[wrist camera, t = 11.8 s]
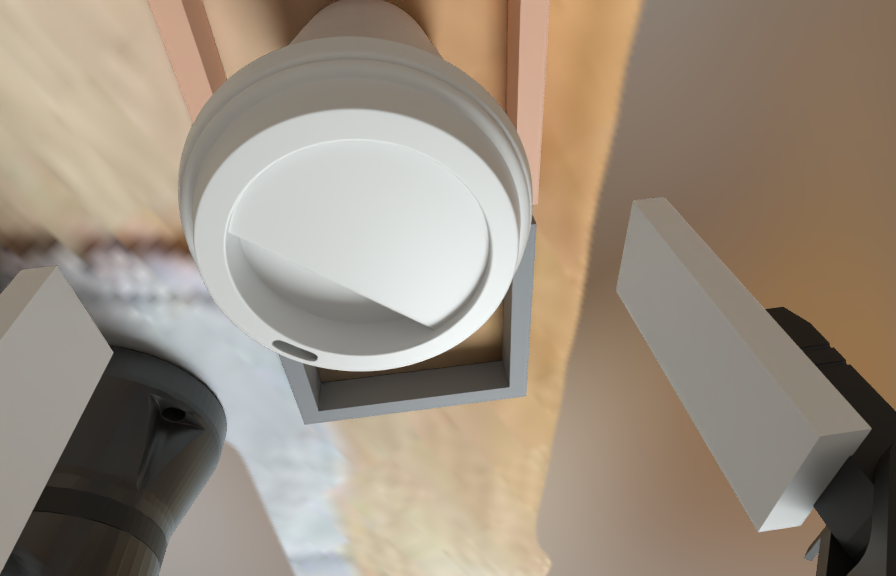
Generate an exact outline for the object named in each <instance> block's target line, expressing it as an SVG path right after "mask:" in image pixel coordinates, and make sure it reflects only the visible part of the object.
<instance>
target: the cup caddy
mask: <svg viewBox="0 0 896 576" xmlns="http://www.w3.org/2000/svg"><path fill="white" fill-rule="evenodd" d="M148 2H149V5H150V8H151V10H152V13H153V16H154V19H155V21H156V24H157V27H158V29H159V32H160V35H161V38H162V40H163V43H164V46H165V48H166V51H167V54H168V56H169V59H170V62H171V65H172V67H173V70H174V73H175V75H176V78H177V81H178V83H179V86H180V89H181V92H182V94H183V97H184V100H185V102H186V105H187V108H188V110H189V113H190V116H191V119H192V121H193V123H194V121H195V119H196V117H197V116H198V114H199V112H200V111H201V109H202V108H203V106H204V105H205V103H206V102H207V101H208V100H209V98H210V97H211V96H212V95H213V94H214V92H215V91H216V90H217V89H218V88H219V87H220V86H221V85H222V84H223V83H224V82H225V81H227V79H226V76H225V73H224V70H223V66H222V63H221V60H220V57H219V54H218V50H217V47H216V44H215V41H214V38H213V34H212V31H211V28H210V25H209V22H208V18H207V15H206V12H205V9H204V6H203V2H202V0H148ZM549 7H550V0H508V29H507V95H506V114H507V116H508V117H509V119H510V120H511V122H512V124H513V125H514V127H515V129H516V131H517V133H518V135H519V137H520V139H521V141H522V144H523V146H524V149H525V152H526V155H527V158H528V162H529V166H530V171H531V177H532V188H533V205H536V204H538V190H539V174H540V157H541V140H542V123H543V107H544V90H545V73H546V57H547V40H548V23H549ZM535 240H536V222H535V220H534V218H533V215H532V221H531V228H530V233H529V237H528V241H527V244H526V247H525V251H524V254H523V257H522V259H521V262H520V264H519V266H518V268H517V270H516V272H515V274H514V276H513V279H512V282H511V284H510V287H509V289H508V291H507V293H506V295H505V297H504V298H503V361H495V362H487V363H479V364H471V365H463V366H455V367H447V368H438V369H430V370H422V371H414V372H406V373H398V374H390V375H382V376H374V377H366V378H358V379H350V380H341V381H333V382H325V383H321V380H320V377H319V374H318V371H317V368H316V366H312V365H308V364H305V363H301V362H298V361H295V360H293V359H290V358H287V357H285V356H282V355H280V354H279V357H280V359H281V362H282V365H283V367H284V370H285V373H286V375H287V378H288V381H289V384H290V386H291V389H292V392H293V394H294V397H295V400H296V402H297V405H298V408H299V411H300V413H301V416H302V419H303V421H304V424H305V425H306V424H313V423H321V422H329V421H337V420H345V419H353V418H360V417H368V416H376V415H384V414H392V413H400V412H407V411H415V410H423V409H431V408H439V407H446V406H454V405H462V404H470V403H478V402H486V401H493V400H501V399H509V398H517V397H525V396H526V391H527V374H528V357H529V341H530V324H531V307H532V290H533V274H534V257H535Z"/></svg>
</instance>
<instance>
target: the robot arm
mask: <svg viewBox="0 0 896 576" xmlns="http://www.w3.org/2000/svg"><path fill="white" fill-rule="evenodd" d="M616 291H617V293H618V295H619V296H620V298H621V300H622V301H623V303H624V305H625V307H626V308H627V310H628V312H629V314H630V315H631V317H632V319H633V320H634V322H635V324H636V325H637V327H638V329H639V331H640V332H641V334H642V336H643V337H644V339H645V341H646V343H647V344H648V346H649V348H650V349H651V351H652V353H653V354H654V356H655V358H656V360H657V361H658V363H659V365H660V366H661V368H662V370H663V371H664V373H665V375H666V377H667V378H668V380H669V382H670V383H671V385H672V387H673V388H674V390H675V392H676V394H677V395H678V397H679V398H680V400H681V402H682V404H683V405H684V407H685V409H686V411H687V412H688V414H689V416H690V417H691V419H692V421H693V422H694V424H695V426H696V428H697V429H698V431H699V432H700V434H701V436H702V438H703V439H704V441H705V443H706V445H707V446H708V448H709V450H710V451H711V453H712V455H713V456H714V458H715V460H716V462H717V463H718V465H719V467H720V468H721V470H722V472H723V474H724V475H725V477H726V479H727V480H728V482H729V484H730V485H731V487H732V489H733V491H734V492H735V494H736V496H737V497H738V499H739V501H740V503H741V504H742V506H743V507H744V509H745V511H746V513H747V514H748V516H749V518H750V520H751V521H752V523H753V525H754V526H755V528H756V530H757V531H758V532H762V531H769V530H776V529H782V528H789V527H795V526H800V525H801V524H802V523H803V521H804V520H805V518H806V517H807V516H808V515H809V513H810V512H811V510H812V509H813V508H815V509H816V511H817V512H818V514H819V515H820V516H821V518H822V519H823V521H824V522H825V524H826V527H825V528H824V529H823V531H822V532H821V533H820V534H819V535H818V537H817V538H816V539H815V540H814V542H813V543H812V544H811V545H810V547H809V548H808V550H807V553H806V555H805V557H804V558H805V559H807V560H809V561H812V560H813V559H814V557H815V556H816V555H817V554H818V553H819V555H818V564H817V571H816V576H896V411H895V410H894V409H893V408H892V407H891V406H890V405H889V404H888V403H887V402H886V401H885V400H884V399H883V398H882V397H881V396H880V395H879V394H878V393H877V392H876V391H875V390H874V389H873V388H872V387H871V385H870V384H869V383H868V382H867V381H866V380H865V379H864V378H863V377H862V376H861V375H860V374H859V373H858V372H857V371H856V370H855V369H854V368H853V367H852V366H851V365H847V364H846V360H845V359H844V358H843V357H842V355H841V354H840V353H839V352H838V351H836V349H835V348H831V347H830V344H829V342H828V341H827V340H826V339H825V338H824V337H823V336H822V335H821V334H820V333H819V332H818V331H817V330H816V329H815V328H814V327H813V326H812V324H810V323H809V322H807V321H806V320H804V319H803V318H801V317H799V316H797V315H796V314H794V313H793V312H791V311H789V310H788V309H786V308H784V307H778V308H771V309H764V308H763V307H762V305H761V304H760V303H759V302H758V301H757V300H756V299H755V298H754V297H753V295H752V294H751V293H750V292H749V291H748V290H747V289H746V288H745V287H744V285H743V284H742V283H741V282H740V281H739V280H738V279H737V278H736V277H735V275H734V274H733V273H732V272H731V271H730V270H729V269H728V268H727V267H726V265H725V264H724V263H723V262H722V261H721V260H720V259H719V258H718V256H717V255H716V254H715V253H714V252H713V251H712V250H711V249H710V248H709V246H708V245H707V244H706V243H705V242H704V241H703V240H702V239H701V237H700V236H699V235H698V234H697V233H696V232H695V231H694V230H693V229H692V227H691V226H690V225H689V224H688V223H687V222H686V221H685V220H684V218H682V216H681V215H680V214H679V213H678V212H677V211H676V210H675V208H674V207H673V206H672V205H671V204H670V203H669V202H668V201H667V200H666V198H665V197H661V198H652V199H644V200H634V201H633V203H632V209H631V214H630V219H629V225H628V230H627V235H626V241H625V246H624V251H623V257H622V262H621V267H620V272H619V278H618V283H617V289H616ZM226 431H227V423H226V418H225V414H224V411H223V409H222V407H221V405H220V404H219V402H218V400H217V399H216V398H215V396H214V395H213V394H212V393H211V392H210V391H209V390H208V389H207V388H206V387H205V386H204V385H203V384H202V383H201V382H199V381H198V380H197V379H195V378H194V377H193V376H191V375H190V374H188V373H186V372H185V371H183V370H181V369H180V368H178V367H176V366H174V365H172V364H170V363H168V362H165V361H163V360H161V359H158V358H155V357H153V356H150V355H147V354H144V353H140V352H136V351H133V350H128V349H124V348H119V347H113V346H109V345H108V343H107V342H106V340H105V339H104V337H103V335H102V334H101V332H100V331H99V329H98V328H97V326H96V325H95V323H94V322H93V320H92V318H91V317H90V315H89V314H88V312H87V311H86V309H85V308H84V306H83V305H82V303H81V302H80V300H79V298H78V297H77V295H76V294H75V292H74V291H73V289H72V288H71V286H70V285H69V283H68V281H67V280H66V278H65V277H64V275H63V274H62V272H61V271H60V269H59V268H58V266H49V267H40V268H31V269H23V270H20V272H19V273H18V274H17V275H16V276H15V278H14V279H13V280H12V281H11V282H10V284H9V285H8V286H7V287H6V288H5V289H4V291H3V292H2V293H1V294H0V576H159V571H160V568H161V564H162V561H163V558H164V555H165V552H166V548H167V545H168V542H169V539H170V537H171V535H172V534H173V532H174V531H175V529H176V528H177V526H178V525H179V523H180V522H181V520H182V519H183V517H184V516H185V514H186V513H187V511H188V510H189V508H190V507H191V505H192V504H193V502H194V501H195V499H196V498H197V496H198V495H199V493H200V492H201V490H202V489H203V487H204V486H205V484H206V483H207V481H208V480H209V478H210V477H211V475H212V474H213V472H214V471H215V469H216V467H217V464H218V462H219V459H220V456H221V452H222V448H223V444H224V440H225V437H226Z"/></svg>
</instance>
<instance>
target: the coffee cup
mask: <svg viewBox="0 0 896 576" xmlns="http://www.w3.org/2000/svg"><path fill="white" fill-rule="evenodd" d="M178 198H179V211H180V217H181V223H182V227H183V231H184V234H185V237H186V241H187V244H188V247H189V250H190V252H191V254H192V257H193V259H194V261H195V263H196V265H197V267H198V269H199V272H200V275H201V277H202V279H203V282H204V284H205V286H206V288H207V290H208V292H209V293H210V295H211V297H212V298H213V300H214V301H215V303H216V304H217V306H218V307H219V308H220V309H221V311H222V312H223V313H224V314H225V315H226V316H227V317H228V319H229V320H230V321H231V322H232V323H233V324H235V325H236V326H237V327H238V328H239V329H240V330H241V331H243V332H244V333H245V334H246V335H248V336H249V337H250V338H252V339H253V340H255V341H256V342H258V343H259V344H261V345H263V346H264V347H266V348H268V349H270V350H272V351H274V352H276V353H278V354H280V355H282V356H285V357H287V358H290V359H293V360H295V361H298V362H301V363H305V364H308V365H312V366H316V367H321V368H327V369H333V370H342V371H379V370H387V369H394V368H399V367H404V366H408V365H412V364H415V363H418V362H422V361H424V360H427V359H430V358H432V357H435V356H437V355H439V354H441V353H443V352H445V351H447V350H449V349H451V348H453V347H454V346H456V345H458V344H459V343H461V342H462V341H464V340H465V339H467V338H468V337H469V336H471V335H472V334H473V333H474V332H475V331H477V330H478V329H479V328H480V327H481V326H482V325H483V324H484V323H485V322H486V321H487V320H488V319H489V318H490V317H491V315H492V314H493V313H494V312H495V310H496V309H497V308H498V306H499V305H500V303H501V302H502V300H503V298H504V297H505V295H506V293H507V291H508V289H509V287H510V284H511V282H512V279H513V276H514V274H515V272H516V270H517V268H518V266H519V264H520V262H521V259H522V257H523V254H524V251H525V247H526V244H527V241H528V237H529V233H530V228H531V221H532V207H533V188H532V177H531V171H530V166H529V162H528V158H527V155H526V152H525V149H524V146H523V144H522V141H521V139H520V137H519V135H518V133H517V131H516V129H515V127H514V125H513V124H512V122H511V120H510V119H509V117H508V116H507V114H506V113H505V112H504V110H503V109H502V108H501V106H500V105H499V104H498V103H497V101H496V100H495V99H494V98H493V97H492V96H491V95H490V94H489V93H488V92H487V91H486V90H485V89H484V88H483V87H482V86H481V85H480V84H479V83H478V82H476V81H475V80H474V79H473V78H471V77H470V76H469V75H467V74H466V73H465V72H463V71H462V70H460V69H459V68H457V67H456V66H454V65H452V64H451V63H449V62H447V61H445V60H444V59H443V58H442V56H441V55H440V54H439V52H438V51H437V49H436V48H435V47H434V45H433V44H432V42H431V41H430V40H429V38H428V37H427V35H426V34H425V33H424V31H423V30H422V28H421V27H420V26H419V25H418V23H417V22H416V21H415V20H414V19H413V18H412V17H411V16H410V15H409V14H407V13H406V12H405V11H403V10H402V9H400V8H399V7H397V6H395V5H393V4H391V3H389V2H387V1H384V0H339V1H336V2H334V3H332V4H330V5H328V6H326V7H325V8H323V9H322V10H321V11H319V12H318V13H317V14H316V15H315V16H314V17H313V18H312V19H311V20H310V21H309V22H308V24H307V25H306V26H305V27H304V28H303V29H302V30H301V31H300V32H299V34H298V35H297V36H296V37H295V38H294V39H293V40H292V41H291V43H290V44H289V45H288V46H286V47H283V48H280V49H278V50H275V51H273V52H271V53H268V54H266V55H264V56H262V57H260V58H258V59H256V60H255V61H253V62H251V63H250V64H248V65H246V66H245V67H243V68H242V69H240V70H239V71H238V72H236V73H235V74H234V75H232V76H231V77H230V78H229V79H228V80H227V81H225V82H224V83H223V84H222V85H221V86H220V87H219V88H218V89H217V90H216V91H215V92H214V94H213V95H212V96H211V97H210V98H209V100H208V101H207V102H206V103H205V105H204V106H203V108H202V109H201V111H200V112H199V114H198V116H197V117H196V119H195V121H194V123H193V125H192V127H191V129H190V131H189V134H188V136H187V139H186V142H185V145H184V148H183V152H182V156H181V161H180V168H179V183H178Z"/></svg>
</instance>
